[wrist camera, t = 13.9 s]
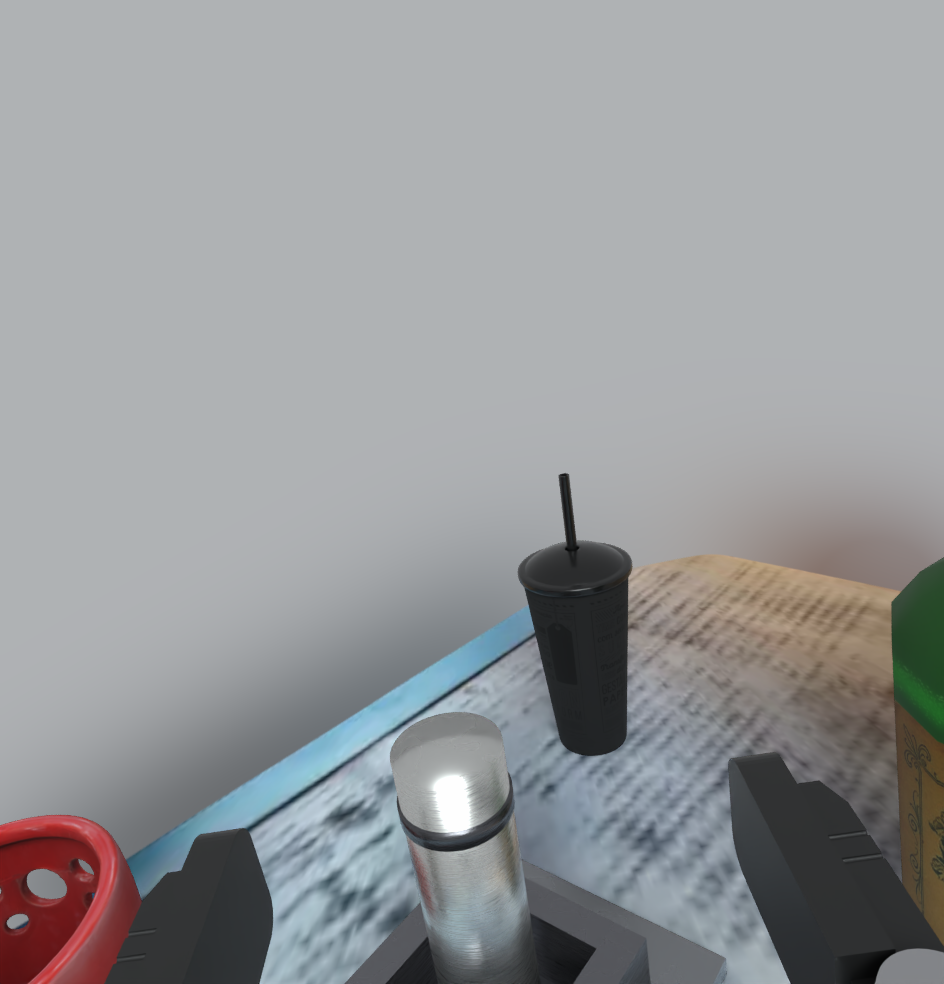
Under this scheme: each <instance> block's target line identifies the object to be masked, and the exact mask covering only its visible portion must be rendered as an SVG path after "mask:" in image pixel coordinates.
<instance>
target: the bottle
mask: <svg viewBox="0 0 944 984" xmlns="http://www.w3.org/2000/svg"><path fill="white" fill-rule="evenodd" d="M892 655H893V678H894V701H895V724H896V747H897V770H898V793H899V816H900V839H901V862H902V884H903V886H904V887H905V889H906V890H907V892H908V893H909V895H910V896H911V898H912V899H913V901H914V902H915V904H916V905H917V907H918V908H919V910H920V911H921V913H922V914H923V916H924V917H925V919H926V920H927V922H928V923H929V925H930V926H931V928H932V929H933V931H934V932H935V934H936V935H937V937H938V938H939V940H940V941H941V943H942V944H943V946H944V558H942V559H940V560H938V561H937V562H935V563H934V564H932V565H930V566H929V567H927V568H926V569H924V570H922V571H921V572H919V574H918V575H917V576H916V577H915V578H914V579H913V580H912V581H911V582H910V583H909V584H908V585H907V586H906V587H905V589H904V590H903V591H902V592H901V593H900V594H899V595H898V596H897V597H896V598H895V599H894V600H893V601H892Z"/></svg>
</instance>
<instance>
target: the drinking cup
mask: <svg viewBox="0 0 944 984" xmlns="http://www.w3.org/2000/svg"><path fill="white" fill-rule="evenodd" d="M559 484H560V493H561V501H562V510H563V518H564V526H565V535H566V542H562V543H558V544H555V545H552V546H550V547H547V548H545V549H542V550H539V551H537V552H535V553H533V554H531V555H530V556H528V557H527V558H526V559H524V560H523V561H522V563H521V564H520V566H519V568H518V578H519V581H520V583H521V584H522V585H523V586H524V587H525V591H526V596H527V600H528V604H529V609H530V613H531V617H532V621H533V625H534V630H535V634H536V638H537V642H538V647H539V651H540V655H541V659H542V664H543V668H544V672H545V676H546V680H547V685H548V689H549V693H550V697H551V702H552V706H553V710H554V714H555V718H556V723H557V727H558V731H559V735H560V739H561V742H562V743H563V745H564V746H565V747H566V748H567V749H569V750H570V751H572V752H575V753H577V754H581V755H588V756H595V755H602V754H606V753H609V752H612V751H614V750H616V749H617V748H618V747H620V746H621V745H622V744H623V742H624V741H625V739H626V735H627V646H628V577H629V575H630V574H631V571H632V560H631V558H630V556H629V555H628V554H627V552H625V551H624V550H622V549H621V548H618V547H616V546H613V545H609V544H605V543H597V542H592V541H576V534H575V524H574V515H573V506H572V498H571V489H570V480H569V474H566V473H564V474H560V475H559Z"/></svg>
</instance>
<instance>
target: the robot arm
mask: <svg viewBox="0 0 944 984" xmlns="http://www.w3.org/2000/svg"><path fill="white" fill-rule="evenodd" d="M728 770H729V786H730V801H731V817H732V831H733V839H734V844H735V849H736V853H737V857H738V860H739V863H740V867H741V869H742V872H743V875H744V877H745V879H746V882H747V884H748V886H749V889H750V891H751V893H752V895H753V898H754V900H755V902H756V905H757V907H758V909H759V912H760V914H761V916H762V919H763V921H764V923H765V925H766V928H767V930H768V932H769V935H770V937H771V939H772V942H773V944H774V946H775V949H776V951H777V953H778V955H779V958H780V960H781V962H782V965H783V967H784V969H785V972H786V974H787V976H788V978H789V981H790V983H791V984H944V946H943V944H942V943H941V941H940V940H939V938H938V937H937V935H936V934H935V932H934V931H933V929H932V928H931V926H930V925H929V923H928V922H927V920H926V919H925V917H924V916H923V914H922V913H921V911H920V910H919V908H918V907H917V905H916V904H915V902H914V901H913V899H912V898H911V896H910V895H909V893H908V892H907V890H906V889H905V887H904V886H903V884H902V883H901V881H900V880H899V878H898V877H897V875H896V874H895V872H894V871H893V869H892V868H891V866H890V865H889V863H888V862H887V860H886V859H885V858H884V859H883V857H882V854H881V851H880V850H879V848H878V847H877V845H876V844H875V842H874V841H873V839H872V838H871V836H870V835H867V832H866V829H865V827H864V826H863V824H862V823H861V821H860V820H859V818H858V817H857V815H856V814H855V812H854V811H853V809H852V808H851V806H850V805H849V803H848V802H847V801H845V800H844V799H843V798H841V797H840V796H839V795H837V794H836V793H835V792H833V791H832V790H831V789H829V788H828V787H827V786H825V785H824V784H823V783H821V782H820V781H813V782H806V783H799V784H797V783H796V781H795V780H794V778H793V776H792V775H791V773H790V771H789V770H788V768H787V766H786V765H785V763H784V761H783V760H782V758H781V757H780V755H779V754H778V753H776V752H772V753H765V754H758V755H751V756H745V757H738V758H731V759H730V760H729V764H728ZM272 928H273V908H272V901H271V896H270V893H269V890H268V887H267V884H266V881H265V878H264V875H263V872H262V869H261V866H260V863H259V860H258V857H257V854H256V851H255V848H254V845H253V842H252V839H251V836H250V834H249V832H248V831H247V830H246V829H245V828H240V829H233V830H227V831H220V832H213V833H206V834H201V835H199V836H197V837H196V839H195V840H194V842H193V844H192V847H191V849H190V851H189V854H188V856H187V858H186V861H185V863H184V865H183V868H182V870H181V871H177V872H170V873H167V874H166V875H165V876H164V877H163V878H162V879H161V880H160V882H159V883H158V884H157V885H156V886H155V887H154V888H153V890H152V891H151V892H150V893H149V894H148V895H147V897H146V898H145V899H144V900H143V901H142V903H141V905H140V908H139V910H138V912H137V914H136V916H135V918H134V920H133V923H132V925H131V927H130V929H129V931H128V933H129V935H128V938H125V940H124V942H123V944H122V946H121V949H120V951H119V953H118V955H117V957H116V958H117V962H116V964H113V966H112V968H111V970H110V972H109V974H108V977H107V979H106V981H105V983H104V984H259V982H260V979H261V975H262V971H263V967H264V963H265V959H266V956H267V952H268V948H269V944H270V940H271V935H272Z"/></svg>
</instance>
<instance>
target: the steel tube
mask: <svg viewBox="0 0 944 984" xmlns="http://www.w3.org/2000/svg"><path fill="white" fill-rule="evenodd" d="M390 762H391V767H392V772H393V776H394V781H395V786H396V790H397V795H398V796H397V807H398V812H399V817H400V821H401V825H402V828H403V830H404V832H405V834H406V837H407V841H408V846H409V851H410V855H411V860H412V865H413V869H414V874H415V879H416V883H417V888H418V893H419V897H420V902H421V906H422V911H423V916H424V920H425V925H426V930H427V934H428V939H429V944H430V948H431V953H432V958H433V962H434V967H435V971H436V976H437V981H438V984H541V982H540V976H539V970H538V963H537V957H536V950H535V944H534V938H533V931H532V925H531V918H530V912H529V905H528V899H527V893H526V886H525V880H524V873H523V867H522V861H521V854H520V848H519V841H518V835H517V829H516V822H515V816H514V804H515V800H514V793H513V787H512V780H511V777H510V774H509V773H508V771H507V765H506V758H505V752H504V745H503V739H502V735H501V732H500V730H499V728H498V727H497V726H496V725H495V724H494V723H493V722H492V721H490V720H489V719H487V718H485V717H482V716H480V715H476V714H472V713H464V712H453V713H444V714H439V715H435V716H432V717H428V718H426V719H423V720H421V721H419V722H417V723H415V724H414V725H412V726H410V727H409V728H408V729H406V730H405V731H404V732H403V733H402V734H401V735H400V736H399V737H398V738H397V740H396V741H395V743H394V744H393V746H392V749H391V752H390Z"/></svg>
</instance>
